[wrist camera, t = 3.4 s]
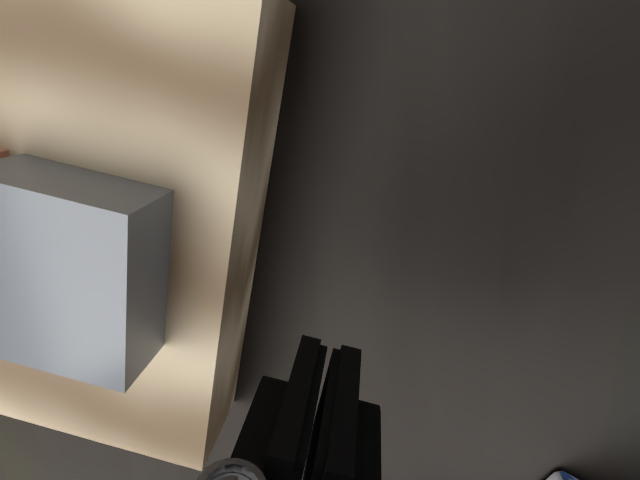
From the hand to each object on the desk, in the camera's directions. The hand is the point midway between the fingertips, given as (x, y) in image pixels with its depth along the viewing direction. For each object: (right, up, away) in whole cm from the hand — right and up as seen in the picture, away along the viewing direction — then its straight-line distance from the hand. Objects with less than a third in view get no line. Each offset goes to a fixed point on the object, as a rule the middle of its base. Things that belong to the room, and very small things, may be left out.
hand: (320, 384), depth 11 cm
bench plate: (-9, +5, +6) cm, 13 cm away
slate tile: (-8, +3, +3) cm, 9 cm away
